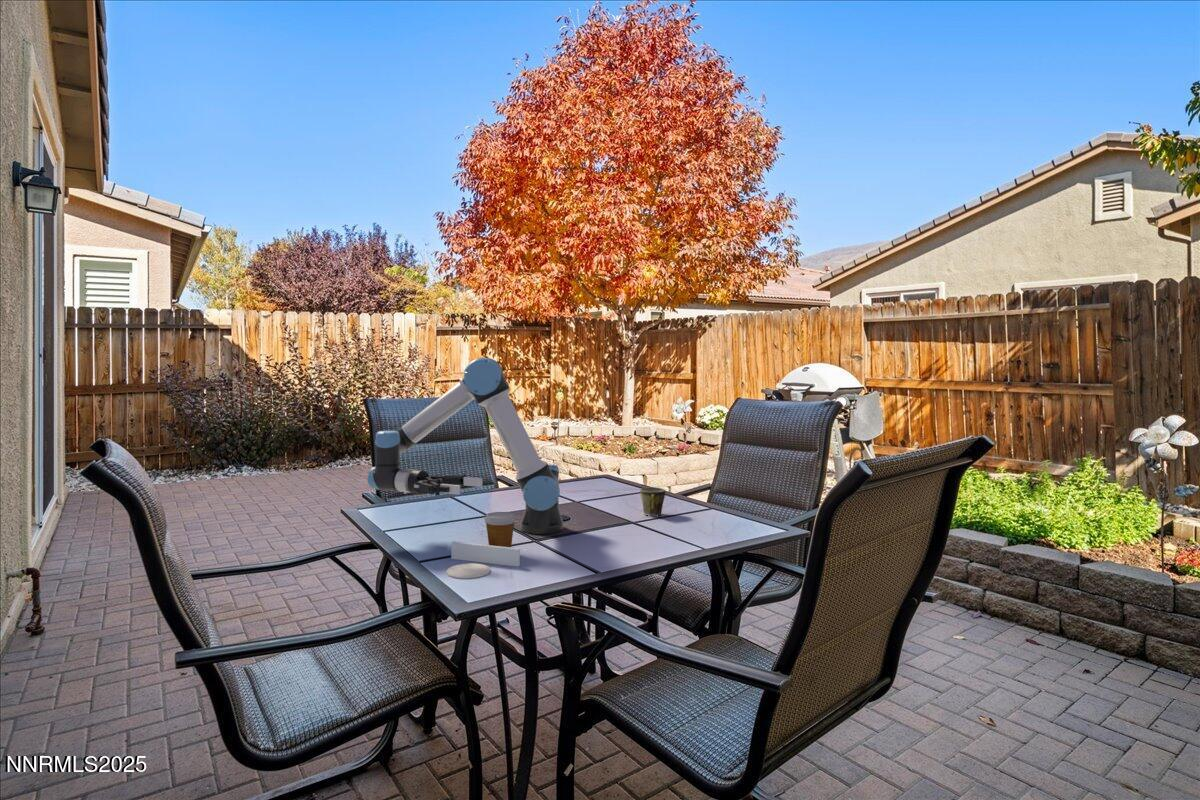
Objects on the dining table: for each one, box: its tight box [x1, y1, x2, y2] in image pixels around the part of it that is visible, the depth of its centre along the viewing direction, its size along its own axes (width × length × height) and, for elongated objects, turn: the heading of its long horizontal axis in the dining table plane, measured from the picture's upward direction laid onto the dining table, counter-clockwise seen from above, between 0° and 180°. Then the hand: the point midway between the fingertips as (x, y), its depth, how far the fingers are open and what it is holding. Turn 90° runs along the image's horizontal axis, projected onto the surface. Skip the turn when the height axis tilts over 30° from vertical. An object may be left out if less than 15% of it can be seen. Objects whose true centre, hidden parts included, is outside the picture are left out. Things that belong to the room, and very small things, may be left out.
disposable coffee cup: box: [484, 511, 517, 548], centre depth 201 cm, size 10×10×12 cm
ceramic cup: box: [639, 486, 667, 517], centre depth 253 cm, size 13×10×10 cm
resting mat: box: [446, 562, 491, 580], centre depth 183 cm, size 12×12×1 cm
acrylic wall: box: [450, 540, 521, 568], centre depth 192 cm, size 22×1×5 cm, turn 71°
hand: (471, 486), depth 203 cm, fingers open, 13 cm apart
